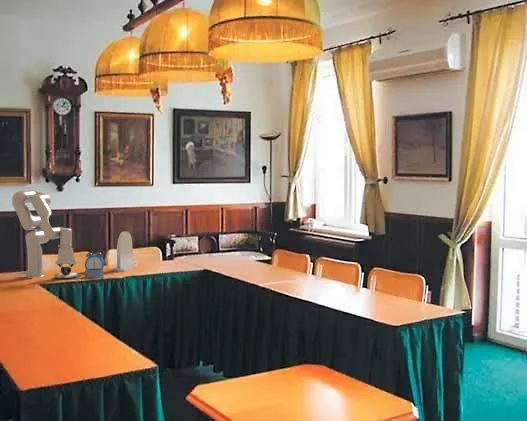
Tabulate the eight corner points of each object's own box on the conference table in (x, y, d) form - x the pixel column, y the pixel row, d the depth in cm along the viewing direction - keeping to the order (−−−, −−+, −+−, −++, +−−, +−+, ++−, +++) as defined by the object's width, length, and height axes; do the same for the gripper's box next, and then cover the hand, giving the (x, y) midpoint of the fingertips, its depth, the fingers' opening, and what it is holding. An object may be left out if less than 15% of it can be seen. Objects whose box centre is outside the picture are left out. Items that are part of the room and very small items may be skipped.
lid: (53, 278, 427) (53, 269, 427) (55, 274, 442) (55, 265, 441) (76, 277, 430) (76, 269, 430) (78, 273, 445) (78, 265, 444)
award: (126, 265, 494) (126, 229, 492) (137, 265, 492) (137, 229, 490) (112, 271, 466) (111, 233, 464) (123, 272, 465) (123, 233, 463)
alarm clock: (84, 274, 455) (84, 253, 454) (85, 272, 461) (85, 251, 460) (103, 273, 457) (103, 252, 455) (104, 272, 463) (104, 251, 462)
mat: (52, 281, 426) (52, 280, 426) (55, 277, 442) (55, 275, 442) (79, 281, 429) (79, 279, 429) (81, 276, 446) (81, 275, 446)
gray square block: (85, 280, 432) (85, 271, 432) (85, 277, 444) (85, 268, 443) (103, 279, 435) (103, 270, 435) (103, 276, 447) (103, 267, 446)
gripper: (52, 247, 429) (52, 274, 430) (78, 247, 432) (78, 274, 434) (53, 245, 436) (53, 272, 438) (79, 245, 440) (79, 272, 441)
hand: (65, 273), depth 436 cm, fingers closed on lid, 3 cm apart
